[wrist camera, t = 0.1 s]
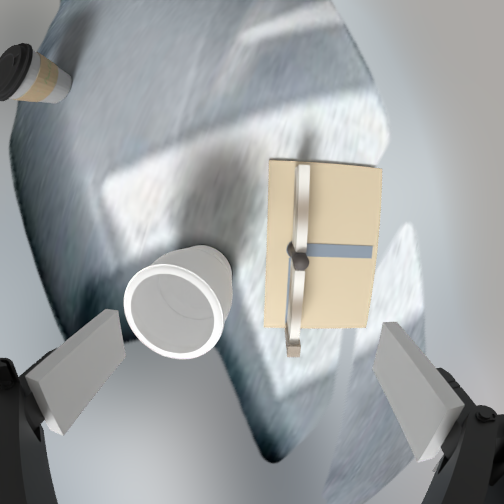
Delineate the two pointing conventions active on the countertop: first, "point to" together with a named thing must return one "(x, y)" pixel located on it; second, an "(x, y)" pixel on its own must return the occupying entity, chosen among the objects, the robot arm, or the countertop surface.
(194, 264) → the jar
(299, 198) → the fence flap
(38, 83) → the coffee cup
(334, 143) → the countertop surface
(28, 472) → the robot arm
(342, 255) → the card
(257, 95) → the countertop surface
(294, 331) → the fence fixed
